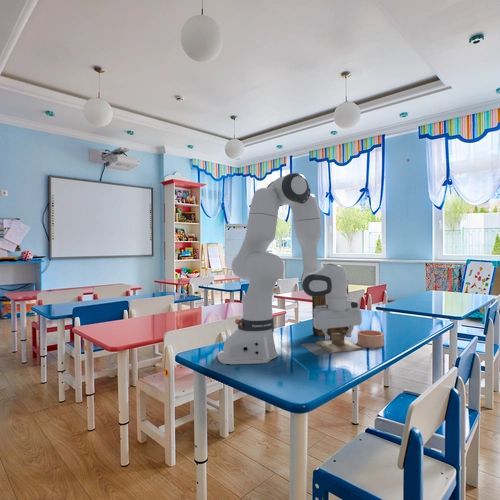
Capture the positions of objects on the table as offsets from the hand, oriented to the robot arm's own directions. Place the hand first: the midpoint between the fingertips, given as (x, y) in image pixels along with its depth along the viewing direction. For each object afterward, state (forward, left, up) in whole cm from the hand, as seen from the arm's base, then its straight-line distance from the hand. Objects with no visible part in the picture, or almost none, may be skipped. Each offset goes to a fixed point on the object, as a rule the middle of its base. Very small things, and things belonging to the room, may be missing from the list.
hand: (338, 338), depth 139 cm
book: (+6, +18, -4) cm, 20 cm away
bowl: (+13, -2, -4) cm, 14 cm away
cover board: (-1, -1, -3) cm, 3 cm away
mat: (-4, -1, -4) cm, 5 cm away
